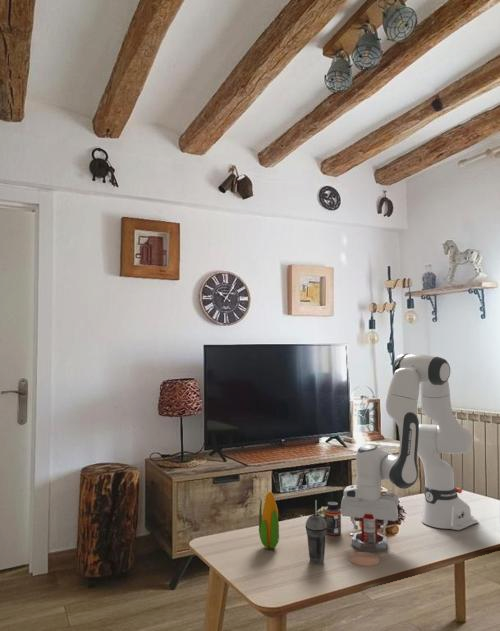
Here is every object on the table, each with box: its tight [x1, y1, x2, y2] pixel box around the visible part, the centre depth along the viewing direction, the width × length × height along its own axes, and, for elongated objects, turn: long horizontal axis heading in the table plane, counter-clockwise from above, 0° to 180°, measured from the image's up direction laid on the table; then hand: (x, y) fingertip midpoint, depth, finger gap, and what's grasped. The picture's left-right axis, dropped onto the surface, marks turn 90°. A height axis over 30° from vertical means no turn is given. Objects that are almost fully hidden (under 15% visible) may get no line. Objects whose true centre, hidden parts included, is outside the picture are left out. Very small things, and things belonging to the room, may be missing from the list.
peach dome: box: [348, 551, 380, 567], centre depth 170 cm, size 10×10×1 cm
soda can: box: [360, 513, 378, 543], centre depth 183 cm, size 6×6×12 cm
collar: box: [349, 530, 388, 553], centre depth 183 cm, size 13×12×3 cm
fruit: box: [317, 505, 328, 519], centre depth 203 cm, size 9×9×8 cm
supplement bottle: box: [325, 501, 342, 536], centre depth 194 cm, size 6×6×11 cm
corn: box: [258, 491, 280, 550], centre depth 180 cm, size 7×8×20 cm
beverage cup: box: [305, 499, 327, 566], centre depth 169 cm, size 7×7×20 cm
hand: (369, 530), depth 183 cm, fingers open, 8 cm apart
